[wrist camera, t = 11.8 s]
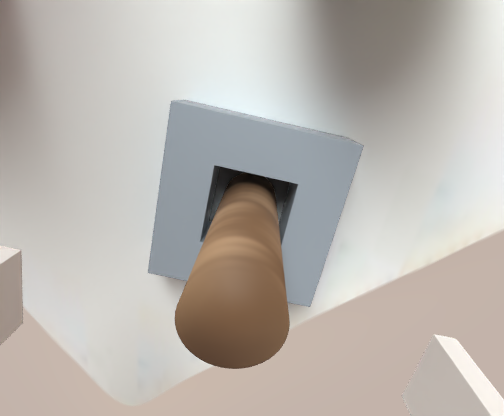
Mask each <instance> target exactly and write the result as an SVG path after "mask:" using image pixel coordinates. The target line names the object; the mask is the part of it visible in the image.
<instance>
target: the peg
mask: <svg viewBox="0 0 504 416" xmlns="http://www.w3.org/2000/svg"><path fill="white" fill-rule="evenodd" d="M175 325H176V330H177V333H178V335H179V337H180V339H181V341H182V343H183V344H184V345H185V347H186V348H187V349H188V350H189V351H190V352H191V353H192V354H194V355H195V356H196V357H198V358H199V359H201V360H202V361H204V362H206V363H209V364H211V365H214V366H218V367H223V368H232V369H239V368H247V367H252V366H255V365H258V364H260V363H263V362H264V361H266V360H268V359H269V358H271V357H272V356H274V355H275V354H276V353H277V352H278V351H279V350H280V348H281V347H282V346H283V344H284V342H285V340H286V338H287V335H288V331H289V313H288V304H287V295H286V286H285V277H284V268H283V258H282V249H281V240H280V231H279V222H278V213H277V204H276V195H275V190H274V187H273V185H272V184H271V182H270V181H269V180H268V179H267V178H266V177H264V176H260V175H256V174H251V173H247V172H246V173H242V174H239V175H237V176H235V177H234V178H233V179H232V180H231V181H230V182H229V183H228V185H227V187H226V189H225V192H224V194H223V197H222V199H221V201H220V204H219V206H218V209H217V211H216V213H215V216H214V218H213V220H212V223H211V225H210V228H209V230H208V232H207V235H206V237H205V240H204V242H203V244H202V247H201V249H200V252H199V254H198V256H197V259H196V261H195V264H194V266H193V268H192V271H191V273H190V276H189V278H188V280H187V283H186V285H185V288H184V290H183V292H182V295H181V297H180V300H179V302H178V304H177V308H176V311H175Z"/></svg>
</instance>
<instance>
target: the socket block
mask: <svg viewBox="0 0 504 416" xmlns="http://www.w3.org/2000/svg"><path fill="white" fill-rule="evenodd" d="M363 147H364V146H363V145H361V144H359V143H357V142H355V141H353V140H351V139H349V138H346V137H342V136H337V135H333V134H329V133H325V132H320V131H316V130H312V129H307V128H303V127H299V126H295V125H290V124H286V123H282V122H277V121H273V120H269V119H265V118H260V117H256V116H252V115H248V114H243V113H239V112H235V111H230V110H226V109H222V108H218V107H213V106H209V105H205V104H201V103H196V102H192V101H188V100H177V101H171V105H170V113H169V120H168V127H167V135H166V142H165V150H164V157H163V164H162V172H161V179H160V186H159V194H158V201H157V209H156V216H155V223H154V231H153V238H152V246H151V253H150V260H149V268H148V273H151V274H156V275H161V276H166V277H170V278H175V279H180V280H185V281H187V280H188V278H189V276H190V273H191V271H192V268H193V266H194V264H195V261H196V259H197V256H198V254H199V252H200V249H201V247H202V244H203V242H204V240H205V237H206V235H207V232H208V230H209V228H210V225H211V223H212V222H210V221H209V219H210V214H211V208H212V203H213V198H214V193H215V188H216V183H217V177H218V172H219V167H220V166H221V167H225V168H229V169H234V170H238V171H243V172H247V173H251V174H256V175H260V176H265V177H269V178H273V179H278V180H282V181H287V182H290V184H289V188H288V191H287V195H286V199H285V203H284V206H283V210H282V214H281V217H280V221H279V231H280V240H281V249H282V258H283V268H284V277H285V286H286V295H287V302H289V303H293V304H298V305H303V306H308V307H310V306H311V303H312V300H313V297H314V294H315V291H316V288H317V285H318V282H319V279H320V276H321V273H322V270H323V267H324V264H325V261H326V258H327V255H328V252H329V249H330V246H331V243H332V240H333V237H334V234H335V231H336V228H337V225H338V222H339V219H340V216H341V213H342V210H343V207H344V204H345V201H346V198H347V195H348V192H349V189H350V186H351V183H352V180H353V177H354V174H355V171H356V168H357V165H358V162H359V159H360V156H361V153H362V150H363Z"/></svg>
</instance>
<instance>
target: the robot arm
mask: <svg viewBox="0 0 504 416" xmlns="http://www.w3.org/2000/svg"><path fill="white" fill-rule="evenodd" d="M22 323H23V302H22V259H21V250H19V249H14V248H9V247H4V246H0V345H1V344H2V343H3V342H4V341H5V340H6V339H7V338H8V337H9V336H10V335H11V334H12V333H13V332H14V331H15V330H16V329H17V328H18V327H19V326H20V325H21V324H22ZM402 398H403V400H404V402H405V404H406V406H407V408H408V411H409V413H410V415H411V416H504V400H503V398H502V397H501V396H500V394H499V393H498V392H497V391H496V389H495V388H494V387H493V385H492V384H491V383H490V382H489V380H488V379H487V378H486V377H485V375H484V374H483V373H482V371H481V370H480V369H479V367H478V366H477V365H476V364H475V362H474V361H473V360H472V359H471V357H470V356H469V355H468V354H467V352H466V351H465V350H464V348H463V347H462V346H461V345H460V343H459V342H458V341H457V340H456V339H455V338H450V337H445V336H440V335H435V334H433V336H432V338H431V340H430V342H429V344H428V346H427V348H426V350H425V352H424V354H423V356H422V358H421V360H420V362H419V363H418V366H417V367H416V369H415V371H414V373H413V375H412V377H411V379H410V381H409V383H408V385H407V387H406V389H405V391H404V393H403V394H402Z"/></svg>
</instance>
